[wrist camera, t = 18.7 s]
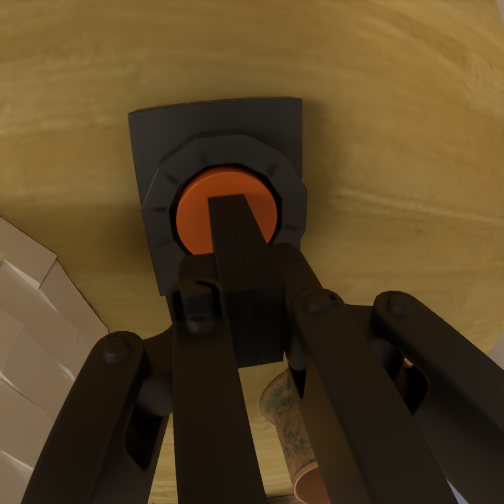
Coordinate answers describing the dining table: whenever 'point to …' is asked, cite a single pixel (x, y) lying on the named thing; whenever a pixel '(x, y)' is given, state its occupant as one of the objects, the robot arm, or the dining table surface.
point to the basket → (35, 352)
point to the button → (213, 185)
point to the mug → (294, 441)
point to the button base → (215, 153)
